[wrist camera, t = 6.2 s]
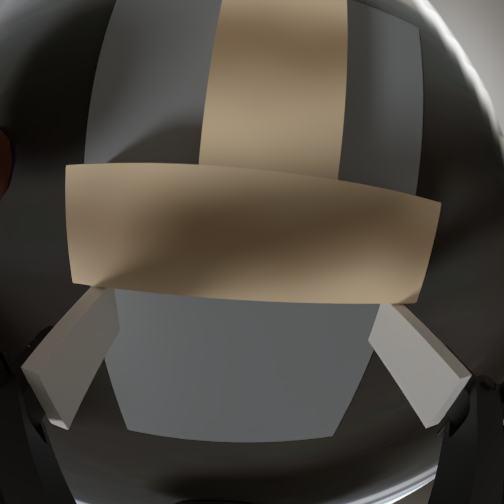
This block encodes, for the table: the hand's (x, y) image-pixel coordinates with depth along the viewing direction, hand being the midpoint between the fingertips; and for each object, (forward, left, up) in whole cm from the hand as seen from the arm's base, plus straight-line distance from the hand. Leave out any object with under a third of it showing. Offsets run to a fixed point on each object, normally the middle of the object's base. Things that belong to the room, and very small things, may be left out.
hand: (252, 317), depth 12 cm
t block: (+9, 0, -3) cm, 9 cm away
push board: (+1, 0, -3) cm, 4 cm away
